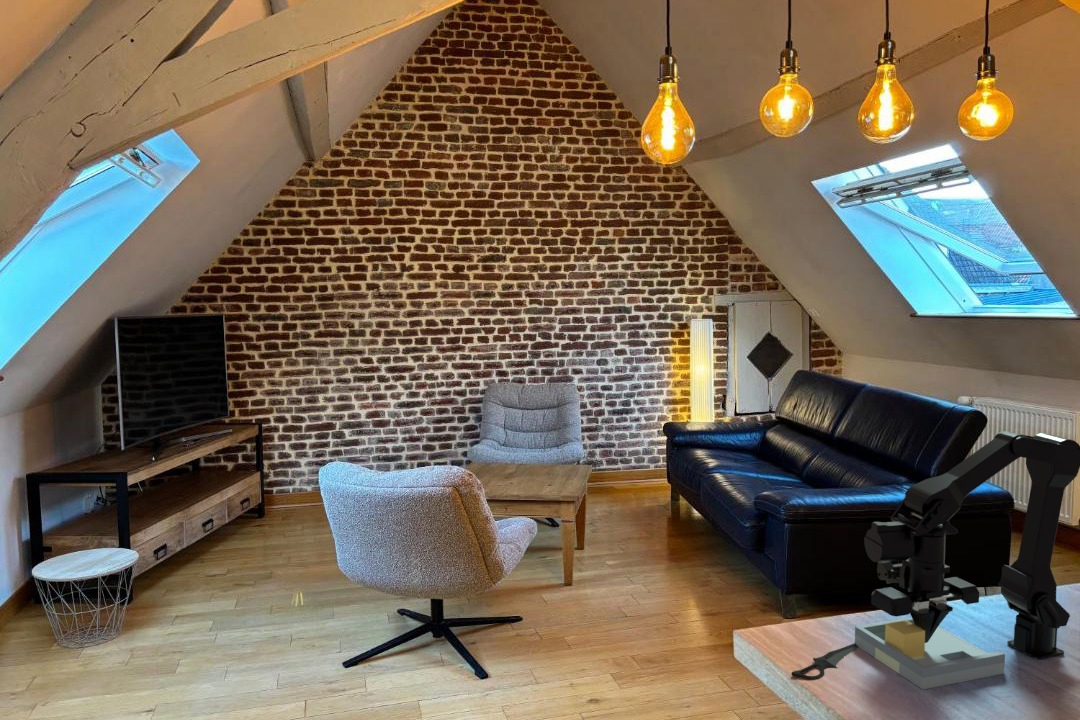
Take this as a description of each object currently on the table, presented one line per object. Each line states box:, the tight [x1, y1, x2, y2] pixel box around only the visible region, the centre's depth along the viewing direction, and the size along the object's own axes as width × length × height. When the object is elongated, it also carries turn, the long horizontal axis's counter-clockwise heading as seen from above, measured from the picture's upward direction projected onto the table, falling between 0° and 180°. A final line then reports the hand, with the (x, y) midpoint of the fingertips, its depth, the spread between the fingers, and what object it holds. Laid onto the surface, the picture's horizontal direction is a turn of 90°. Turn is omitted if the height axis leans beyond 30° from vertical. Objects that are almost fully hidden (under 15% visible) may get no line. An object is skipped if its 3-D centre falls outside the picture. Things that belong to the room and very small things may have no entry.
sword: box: [791, 642, 860, 681], centre depth 142 cm, size 27×4×1 cm, turn 127°
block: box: [885, 620, 925, 658], centre depth 138 cm, size 4×4×4 cm
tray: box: [854, 616, 1006, 690], centre depth 140 cm, size 17×17×4 cm
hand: (923, 641), depth 140 cm, fingers closed
